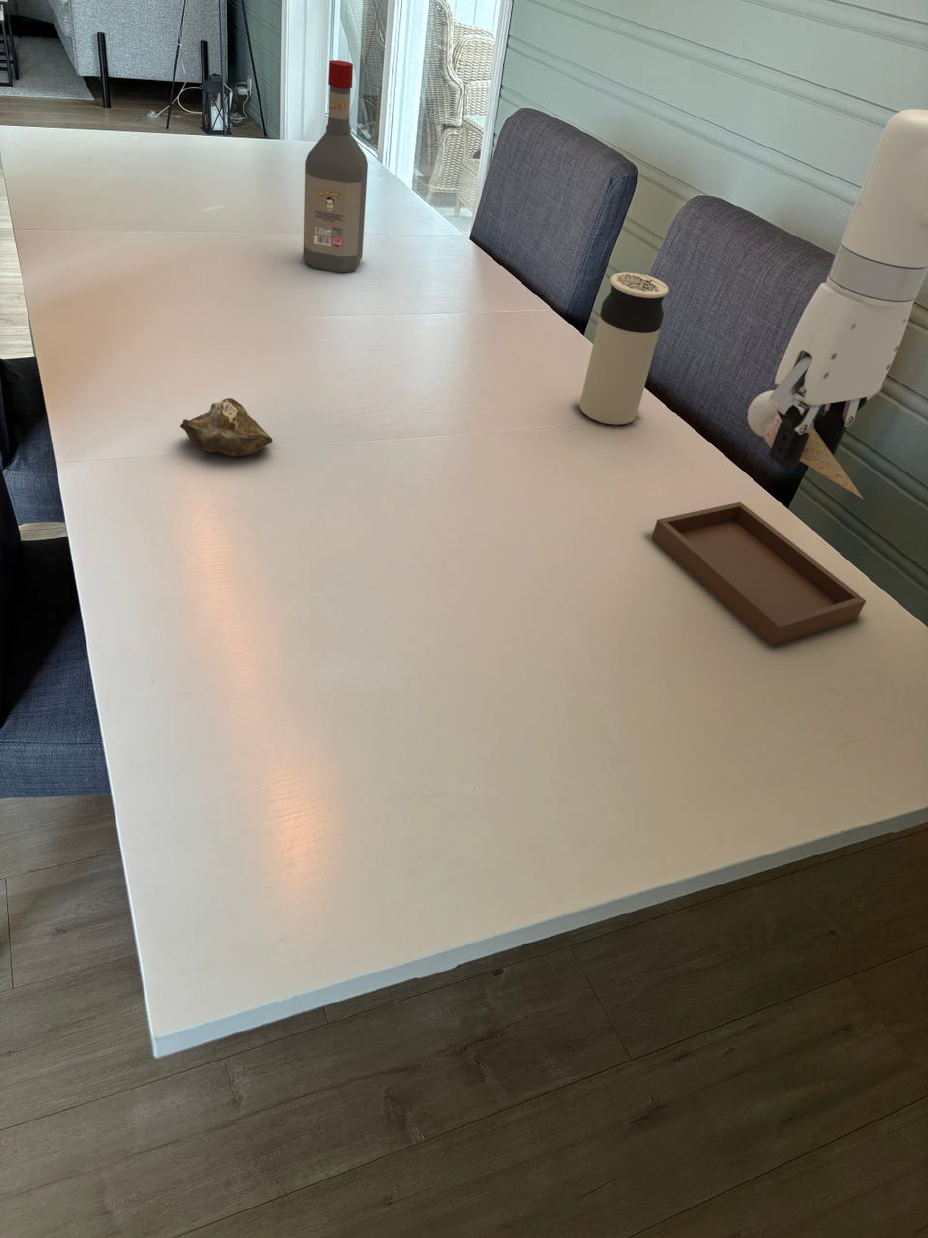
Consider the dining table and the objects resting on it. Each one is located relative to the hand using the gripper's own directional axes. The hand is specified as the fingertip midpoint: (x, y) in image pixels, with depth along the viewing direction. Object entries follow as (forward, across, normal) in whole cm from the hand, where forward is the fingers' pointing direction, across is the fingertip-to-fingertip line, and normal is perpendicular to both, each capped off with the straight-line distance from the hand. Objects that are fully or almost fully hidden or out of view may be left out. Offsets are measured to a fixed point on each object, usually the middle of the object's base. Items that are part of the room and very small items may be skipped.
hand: (800, 458), depth 90 cm
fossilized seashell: (+15, +45, -41) cm, 63 cm away
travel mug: (+15, -7, -37) cm, 41 cm away
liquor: (+15, +9, -97) cm, 99 cm away
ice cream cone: (+1, -1, 0) cm, 1 cm away
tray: (+15, 0, 0) cm, 15 cm away
